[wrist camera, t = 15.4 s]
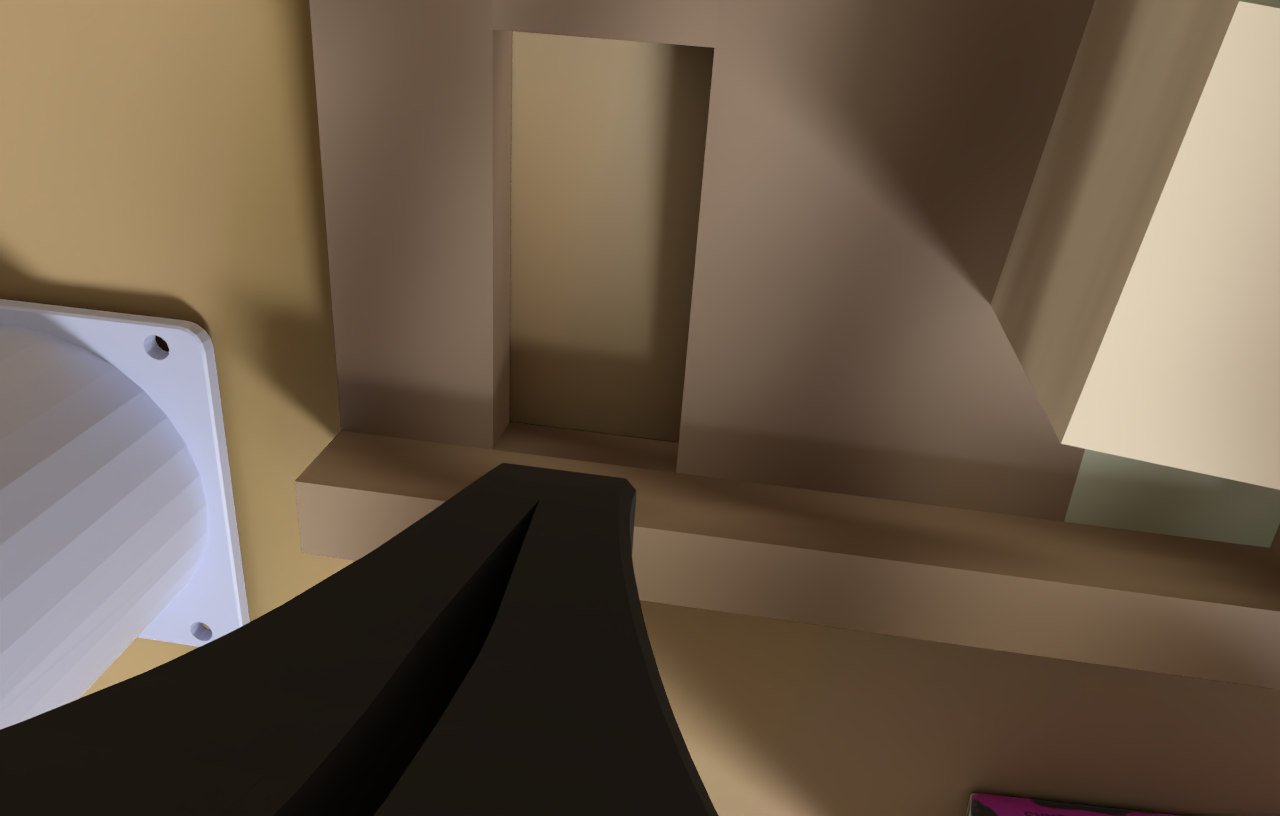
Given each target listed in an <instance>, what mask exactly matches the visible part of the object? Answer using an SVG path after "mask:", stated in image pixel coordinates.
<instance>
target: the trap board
mask: <svg viewBox="0 0 1280 816" xmlns="http://www.w3.org/2000/svg"><path fill="white" fill-rule="evenodd" d="M1236 1H1242V2H1248V3H1253V4H1259V5H1264V6H1269V7H1275V8H1280V0H1236ZM1094 2H1095V0H309V4H310V18H311V31H312V44H313V58H314V71H315V85H316V98H317V111H318V125H319V138H320V152H321V165H322V179H323V192H324V205H325V219H326V232H327V246H328V259H329V272H330V286H331V299H332V313H333V326H334V340H335V353H336V366H337V380H338V393H339V407H340V420H341V431H340V432H339V434H338V435H337V436H336V437H335V438H334V439H333V440H332V441H331V442H330V443H329V444H328V446H327V447H326V448H325V449H324V450H323V451H322V452H321V453H320V454H319V455H318V456H317V457H316V459H315V460H314V461H313V462H312V463H311V464H310V465H309V466H308V467H307V468H306V469H305V471H304V472H303V473H302V474H301V475H300V476H299V477H298V478H297V479H296V480H295V491H296V501H297V511H298V521H299V531H300V541H301V551H302V553H305V554H312V555H319V556H326V557H334V558H341V559H348V560H355V561H357V560H358V559H360V558H362V557H363V556H365V555H367V554H368V553H370V552H372V551H373V550H375V549H376V548H378V547H379V546H381V545H382V544H384V543H385V542H387V541H388V540H390V539H391V538H393V537H394V536H396V535H397V534H399V533H400V532H402V531H403V530H405V529H406V528H408V527H409V526H410V525H412V524H413V523H415V522H416V521H418V520H419V519H421V518H422V517H424V516H425V515H427V514H428V513H430V512H431V511H433V510H434V509H436V508H437V507H438V506H440V505H441V504H443V503H444V502H446V501H447V500H449V499H450V498H451V497H453V496H454V495H456V494H457V493H458V492H460V491H461V490H463V489H464V488H466V487H467V486H468V485H470V484H471V483H473V482H474V481H476V480H477V479H479V478H480V477H481V476H483V475H484V474H486V473H487V472H489V471H490V470H492V469H493V468H495V467H497V466H498V465H500V464H501V463H509V464H517V465H525V466H533V467H541V468H549V469H556V470H564V471H572V472H580V473H588V474H596V475H604V476H611V477H619V478H626V479H627V480H628V481H629V482H630V484H631V485H632V486H633V487H634V488H635V489H636V491H637V492H636V506H635V520H634V534H633V548H632V561H633V568H634V574H635V579H636V584H637V589H638V594H639V599H640V600H641V601H648V602H656V603H663V604H670V605H677V606H684V607H691V608H698V609H706V610H713V611H720V612H727V613H734V614H741V615H749V616H756V617H763V618H770V619H777V620H784V621H792V622H799V623H806V624H813V625H820V626H827V627H834V628H842V629H849V630H856V631H863V632H870V633H877V634H885V635H892V636H899V637H906V638H913V639H920V640H927V641H935V642H942V643H949V644H956V645H963V646H970V647H978V648H985V649H992V650H999V651H1006V652H1013V653H1021V654H1028V655H1035V656H1042V657H1049V658H1056V659H1063V660H1071V661H1078V662H1085V663H1092V664H1099V665H1106V666H1114V667H1121V668H1128V669H1135V670H1142V671H1149V672H1157V673H1164V674H1171V675H1178V676H1185V677H1192V678H1199V679H1207V680H1214V681H1221V682H1228V683H1235V684H1242V685H1250V686H1257V687H1264V688H1271V689H1278V690H1280V490H1278V489H1273V488H1269V487H1264V486H1259V485H1254V484H1250V483H1245V482H1240V481H1236V480H1231V479H1226V478H1221V477H1217V476H1212V475H1207V474H1202V473H1198V472H1193V471H1188V470H1183V469H1179V468H1174V467H1169V466H1165V465H1160V464H1155V463H1150V462H1146V461H1141V460H1136V459H1131V458H1127V457H1122V456H1117V455H1112V454H1108V453H1103V452H1098V451H1094V450H1089V449H1084V448H1079V447H1075V446H1070V445H1065V444H1061V443H1060V441H1059V439H1058V437H1057V435H1056V433H1055V431H1054V429H1053V427H1052V425H1051V423H1050V421H1049V419H1048V417H1047V415H1046V413H1045V411H1044V409H1043V407H1042V405H1041V403H1040V401H1039V399H1038V397H1037V395H1036V393H1035V391H1034V390H1033V388H1032V386H1031V384H1030V382H1029V380H1028V378H1027V376H1026V374H1025V372H1024V370H1023V368H1022V366H1021V364H1020V362H1019V360H1018V358H1017V356H1016V354H1015V352H1014V350H1013V348H1012V346H1011V344H1010V342H1009V340H1008V338H1007V336H1006V334H1005V332H1004V330H1003V328H1002V326H1001V324H1000V322H999V321H998V319H997V317H996V315H995V313H994V311H993V309H992V307H991V302H992V300H993V297H994V294H995V291H996V288H997V285H998V282H999V279H1000V276H1001V273H1002V270H1003V267H1004V265H1005V262H1006V259H1007V256H1008V253H1009V250H1010V247H1011V244H1012V241H1013V238H1014V235H1015V232H1016V229H1017V227H1018V224H1019V221H1020V218H1021V215H1022V212H1023V209H1024V206H1025V203H1026V200H1027V197H1028V194H1029V192H1030V189H1031V186H1032V183H1033V180H1034V177H1035V174H1036V171H1037V168H1038V165H1039V162H1040V159H1041V157H1042V154H1043V151H1044V148H1045V145H1046V142H1047V139H1048V136H1049V133H1050V130H1051V127H1052V124H1053V122H1054V119H1055V116H1056V113H1057V110H1058V107H1059V104H1060V101H1061V98H1062V95H1063V92H1064V89H1065V86H1066V84H1067V81H1068V78H1069V75H1070V72H1071V69H1072V66H1073V63H1074V60H1075V57H1076V54H1077V51H1078V49H1079V46H1080V43H1081V40H1082V37H1083V34H1084V31H1085V28H1086V25H1087V22H1088V19H1089V16H1090V14H1091V11H1092V8H1093V5H1094ZM512 31H519V32H531V33H543V34H555V35H567V36H579V37H591V38H603V39H616V40H628V41H640V42H652V43H664V44H676V45H688V46H700V47H712V48H714V58H713V69H712V80H711V91H710V102H709V114H708V125H707V136H706V147H705V158H704V169H703V180H702V191H701V202H700V213H699V224H698V235H697V246H696V257H695V269H694V280H693V291H692V302H691V313H690V324H689V335H688V346H687V357H686V368H685V379H684V390H683V401H682V413H681V424H680V435H679V443H675V442H667V441H659V440H651V439H643V438H635V437H627V436H618V435H610V434H602V433H594V432H586V431H578V430H570V429H562V428H553V427H545V426H537V425H529V424H521V423H513V422H509V398H510V259H511V121H512Z"/></svg>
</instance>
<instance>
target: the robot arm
mask: <svg viewBox="0 0 1280 816" xmlns="http://www.w3.org/2000/svg"><path fill="white" fill-rule="evenodd" d="M155 336H159V337H161V338H162V339H163V340H164V341H165V342H166V343H167V345H168V347H169V352H167V351H164V350H162V349H161V348H160V347H159V346H158V344H157V342H156V339H155ZM636 492H637V491H636V489H635V488H634V487H633V486H632V485H631V484H630V482H629V481H628V480H627V479H626V478H619V477H611V476H604V475H596V474H588V473H580V472H572V471H564V470H556V469H549V468H541V467H533V466H525V465H517V464H509V463H501V464H500V465H498V466H497V467H495V468H493V469H492V470H490V471H489V472H487V473H486V474H484V475H483V476H481V477H480V478H479V479H477V480H476V481H474V482H473V483H471V484H470V485H468V486H467V487H466V488H464V489H463V490H461V491H460V492H458V493H457V494H456V495H454V496H453V497H451V498H450V499H449V500H447V501H446V502H444V503H443V504H441V505H440V506H438V507H437V508H436V509H434V510H433V511H431V512H430V513H428V514H427V515H425V516H424V517H422V518H421V519H419V520H418V521H416V522H415V523H413V524H412V525H410V526H409V527H408V528H406V529H405V530H403V531H402V532H400V533H399V534H397V535H396V536H394V537H393V538H391V539H390V540H388V541H387V542H385V543H384V544H382V545H381V546H379V547H378V548H376V549H375V550H373V551H372V552H370V553H368V554H367V555H365V556H363V557H362V558H360V559H358V560H357V561H355V562H353V563H352V564H350V565H348V566H347V567H345V568H343V569H342V570H340V571H338V572H337V573H335V574H333V575H332V576H330V577H328V578H327V579H325V580H323V581H322V582H320V583H318V584H316V585H315V586H313V587H311V588H310V589H308V590H306V591H305V592H303V593H301V594H300V595H298V596H296V597H295V598H293V599H291V600H290V601H288V602H286V603H285V604H283V605H281V606H279V607H277V608H276V609H274V610H272V611H270V612H268V613H266V614H265V615H263V616H261V617H259V618H257V619H255V620H253V621H251V622H250V621H249V613H248V606H247V598H246V590H245V583H244V575H243V567H242V560H241V552H240V545H239V537H238V529H237V522H236V514H235V507H234V499H233V491H232V484H231V476H230V469H229V461H228V453H227V446H226V438H225V430H224V423H223V415H222V408H221V400H220V392H219V385H218V377H217V370H216V362H215V354H214V347H213V344H212V341H211V338H210V336H209V335H208V334H207V332H206V331H205V330H204V329H203V328H202V327H200V326H199V325H197V324H196V323H193V322H190V321H186V320H177V319H169V318H160V317H151V316H143V315H134V314H126V313H117V312H109V311H100V310H91V309H83V308H74V307H66V306H57V305H48V304H40V303H31V302H23V301H14V300H6V299H0V816H718V814H717V812H716V810H715V808H714V806H713V804H712V802H711V800H710V798H709V796H708V793H707V791H706V789H705V787H704V785H703V782H702V780H701V778H700V776H699V774H698V771H697V769H696V767H695V765H694V763H693V761H692V758H691V756H690V754H689V751H688V749H687V746H686V744H685V742H684V739H683V737H682V734H681V732H680V729H679V727H678V724H677V722H676V719H675V717H674V714H673V712H672V709H671V706H670V703H669V701H668V698H667V695H666V692H665V689H664V686H663V683H662V680H661V677H660V675H659V671H658V668H657V665H656V661H655V658H654V655H653V651H652V648H651V645H650V641H649V638H648V634H647V630H646V626H645V622H644V618H643V614H642V610H641V604H640V599H639V594H638V589H637V584H636V579H635V574H634V568H633V561H632V548H633V534H634V520H635V506H636ZM201 623H204V624H206V625H207V626H208V627H209V628H210V629H211V630H210V629H207V628H206V627H204V626H203V625H202V624H201ZM137 637H138V638H145V639H151V640H158V641H165V642H171V643H178V644H184V645H191V646H198V647H199V648H197V649H194V650H192V651H190V652H188V653H186V654H184V655H182V656H180V657H178V658H176V659H174V660H171V661H169V662H167V663H165V664H163V665H160V666H158V667H156V668H154V669H151V670H149V671H147V672H145V673H142V674H140V675H137V676H135V677H132V678H130V679H127V680H125V681H122V682H120V683H117V684H115V685H112V686H110V687H107V688H105V689H102V690H100V691H97V692H95V693H92V694H90V695H87V696H85V697H82V698H80V697H81V696H82V695H83V694H84V693H85V692H86V691H87V690H88V689H89V688H90V687H91V686H92V685H93V683H94V682H95V681H96V680H97V679H98V678H99V677H100V676H101V675H102V674H103V673H104V672H105V671H106V670H107V669H108V667H109V666H110V665H111V664H112V663H113V662H114V661H115V660H116V659H117V658H118V657H119V656H120V655H121V654H122V653H123V652H124V650H125V649H126V648H127V647H128V646H129V645H130V644H131V643H132V642H133V641H134V640H135V639H136V638H137ZM79 698H80V699H79Z"/></svg>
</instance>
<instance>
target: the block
mask: <svg viewBox="0 0 1280 816" xmlns="http://www.w3.org/2000/svg"><path fill="white" fill-rule="evenodd" d="M991 307H992V309H993V311H994V313H995V315H996V317H997V319H998V321H999V322H1000V324H1001V326H1002V328H1003V330H1004V332H1005V334H1006V336H1007V338H1008V340H1009V342H1010V344H1011V346H1012V348H1013V350H1014V352H1015V354H1016V356H1017V358H1018V360H1019V362H1020V364H1021V366H1022V368H1023V370H1024V372H1025V374H1026V376H1027V378H1028V380H1029V382H1030V384H1031V386H1032V388H1033V390H1034V391H1035V393H1036V395H1037V397H1038V399H1039V401H1040V403H1041V405H1042V407H1043V409H1044V411H1045V413H1046V415H1047V417H1048V419H1049V421H1050V423H1051V425H1052V427H1053V429H1054V431H1055V433H1056V435H1057V437H1058V439H1059V441H1060V443H1061V444H1065V445H1070V446H1075V447H1079V448H1084V449H1089V450H1094V451H1098V452H1103V453H1108V454H1112V455H1117V456H1122V457H1127V458H1131V459H1136V460H1141V461H1146V462H1150V463H1155V464H1160V465H1165V466H1169V467H1174V468H1179V469H1183V470H1188V471H1193V472H1198V473H1202V474H1207V475H1212V476H1217V477H1221V478H1226V479H1231V480H1236V481H1240V482H1245V483H1250V484H1254V485H1259V486H1264V487H1269V488H1273V489H1278V490H1280V8H1275V7H1269V6H1264V5H1259V4H1253V3H1248V2H1242V1H1236V0H1095V2H1094V5H1093V8H1092V11H1091V14H1090V16H1089V19H1088V22H1087V25H1086V28H1085V31H1084V34H1083V37H1082V40H1081V43H1080V46H1079V49H1078V51H1077V54H1076V57H1075V60H1074V63H1073V66H1072V69H1071V72H1070V75H1069V78H1068V81H1067V84H1066V86H1065V89H1064V92H1063V95H1062V98H1061V101H1060V104H1059V107H1058V110H1057V113H1056V116H1055V119H1054V122H1053V124H1052V127H1051V130H1050V133H1049V136H1048V139H1047V142H1046V145H1045V148H1044V151H1043V154H1042V157H1041V159H1040V162H1039V165H1038V168H1037V171H1036V174H1035V177H1034V180H1033V183H1032V186H1031V189H1030V192H1029V194H1028V197H1027V200H1026V203H1025V206H1024V209H1023V212H1022V215H1021V218H1020V221H1019V224H1018V227H1017V229H1016V232H1015V235H1014V238H1013V241H1012V244H1011V247H1010V250H1009V253H1008V256H1007V259H1006V262H1005V265H1004V267H1003V270H1002V273H1001V276H1000V279H999V282H998V285H997V288H996V291H995V294H994V297H993V300H992V302H991Z"/></svg>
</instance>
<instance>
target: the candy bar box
mask: <svg viewBox="0 0 1280 816" xmlns="http://www.w3.org/2000/svg"><path fill="white" fill-rule="evenodd" d="M966 816H1180V815H1169V814H1158V813H1150V812H1142V811H1134V810H1125V809H1116V808H1107V807H1098V806H1089V805H1080V804H1070V803H1060V802H1053V801H1046V800H1037V799H1026V798H1016V797H1007V796H998V795H990V794H981V793H972V794H971V796H970V800H969V804H968V808H967V812H966Z"/></svg>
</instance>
